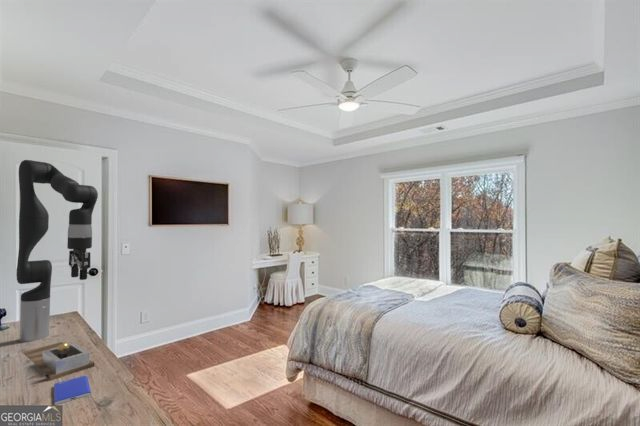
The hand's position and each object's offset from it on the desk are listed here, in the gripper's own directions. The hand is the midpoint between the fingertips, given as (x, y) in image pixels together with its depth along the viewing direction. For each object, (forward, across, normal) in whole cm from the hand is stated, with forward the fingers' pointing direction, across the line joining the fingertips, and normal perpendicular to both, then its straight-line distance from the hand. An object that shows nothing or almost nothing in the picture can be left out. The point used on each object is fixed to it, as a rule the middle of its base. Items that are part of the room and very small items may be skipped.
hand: (78, 278), depth 122 cm
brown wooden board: (+28, +3, -7) cm, 29 cm away
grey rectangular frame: (+27, +12, -7) cm, 30 cm away
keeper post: (+27, +9, -7) cm, 29 cm away
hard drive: (+29, +32, -11) cm, 44 cm away
